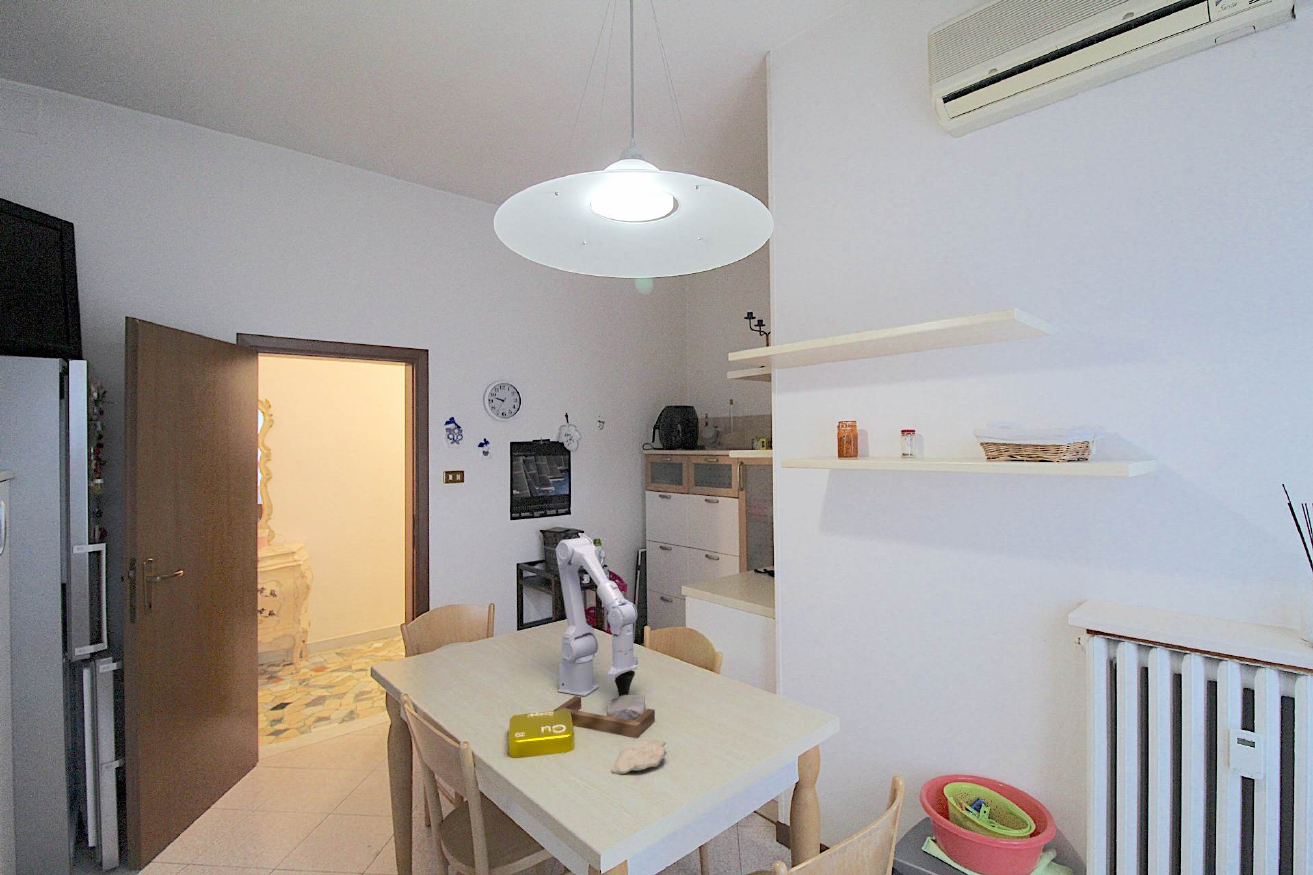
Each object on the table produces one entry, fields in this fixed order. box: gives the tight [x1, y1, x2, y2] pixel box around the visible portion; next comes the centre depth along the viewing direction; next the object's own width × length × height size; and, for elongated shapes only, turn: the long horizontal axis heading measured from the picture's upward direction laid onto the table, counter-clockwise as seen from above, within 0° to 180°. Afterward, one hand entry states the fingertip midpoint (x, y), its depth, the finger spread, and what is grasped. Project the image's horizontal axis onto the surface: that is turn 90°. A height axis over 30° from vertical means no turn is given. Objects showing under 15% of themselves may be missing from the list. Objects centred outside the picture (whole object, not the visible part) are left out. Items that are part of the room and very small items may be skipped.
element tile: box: [508, 710, 575, 759], centre depth 150 cm, size 15×15×5 cm
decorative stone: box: [610, 738, 667, 775], centre depth 139 cm, size 11×4×15 cm
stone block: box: [606, 694, 646, 721], centre depth 163 cm, size 12×5×10 cm
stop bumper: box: [553, 695, 656, 739], centre depth 160 cm, size 24×10×3 cm, turn 65°
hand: (623, 698), depth 170 cm, fingers closed, pressing on stone block
